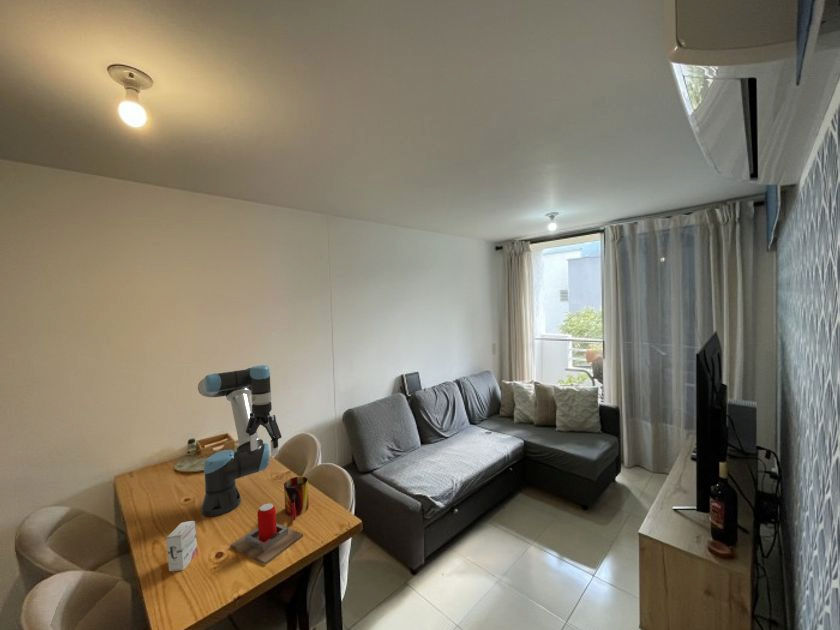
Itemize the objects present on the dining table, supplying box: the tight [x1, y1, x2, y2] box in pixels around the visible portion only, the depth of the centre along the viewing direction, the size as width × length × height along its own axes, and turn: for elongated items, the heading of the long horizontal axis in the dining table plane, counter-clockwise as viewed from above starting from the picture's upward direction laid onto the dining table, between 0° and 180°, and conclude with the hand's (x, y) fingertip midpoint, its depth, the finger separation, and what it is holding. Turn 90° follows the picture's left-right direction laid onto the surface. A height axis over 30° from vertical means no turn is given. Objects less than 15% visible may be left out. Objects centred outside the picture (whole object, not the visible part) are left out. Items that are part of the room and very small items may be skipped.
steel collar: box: [245, 522, 289, 552], centre depth 125 cm, size 10×10×3 cm
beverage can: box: [257, 503, 277, 542], centre depth 126 cm, size 6×6×12 cm
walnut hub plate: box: [230, 522, 304, 566], centre depth 125 cm, size 20×16×1 cm
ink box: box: [165, 520, 198, 572], centre depth 117 cm, size 9×5×12 cm, turn 5°
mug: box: [283, 476, 310, 521], centre depth 144 cm, size 10×14×12 cm
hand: (264, 452), depth 142 cm, fingers open, 13 cm apart
